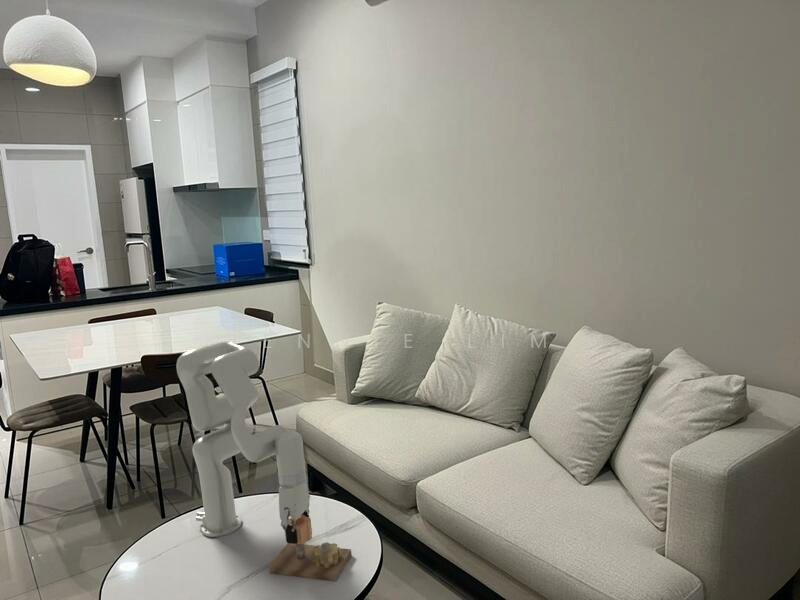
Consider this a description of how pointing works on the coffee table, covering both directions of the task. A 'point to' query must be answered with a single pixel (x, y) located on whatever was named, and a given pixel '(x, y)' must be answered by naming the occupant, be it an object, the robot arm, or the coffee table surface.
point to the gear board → (311, 561)
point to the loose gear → (302, 529)
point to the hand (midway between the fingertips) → (298, 534)
